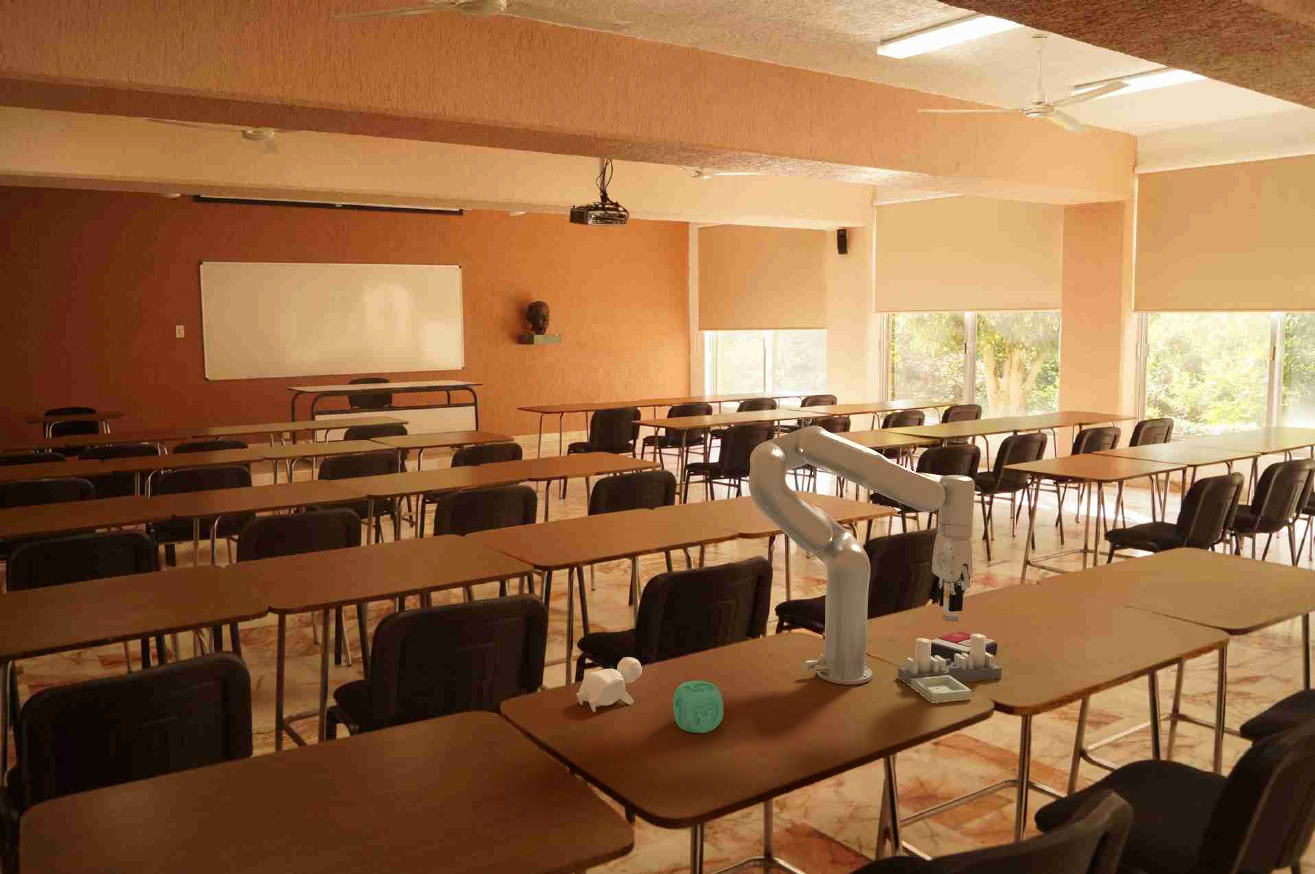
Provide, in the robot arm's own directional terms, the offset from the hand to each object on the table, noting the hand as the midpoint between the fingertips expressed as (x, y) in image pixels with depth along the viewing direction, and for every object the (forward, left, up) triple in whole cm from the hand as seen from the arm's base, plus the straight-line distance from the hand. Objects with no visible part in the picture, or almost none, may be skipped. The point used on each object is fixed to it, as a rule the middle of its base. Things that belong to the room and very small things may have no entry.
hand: (950, 607), depth 224 cm
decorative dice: (-64, -12, -17) cm, 67 cm away
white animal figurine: (-78, +4, -17) cm, 80 cm away
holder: (0, 0, -17) cm, 17 cm away
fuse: (0, 0, -3) cm, 3 cm away
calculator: (+12, +14, -17) cm, 25 cm away
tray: (-7, -8, -17) cm, 20 cm away
